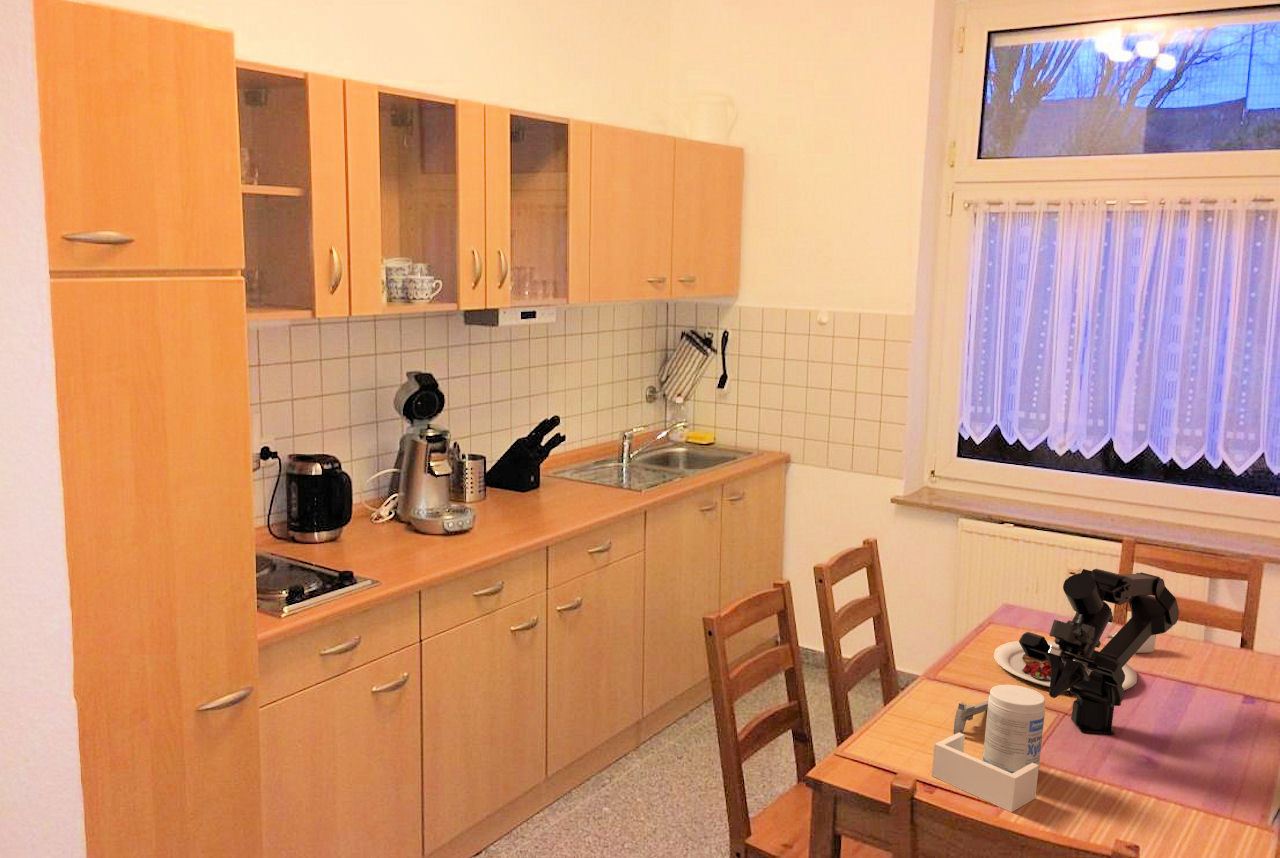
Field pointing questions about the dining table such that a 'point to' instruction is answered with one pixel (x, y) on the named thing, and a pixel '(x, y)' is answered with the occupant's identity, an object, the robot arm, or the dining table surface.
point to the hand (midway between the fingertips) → (1051, 696)
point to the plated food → (1039, 665)
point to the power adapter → (1147, 646)
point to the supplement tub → (1014, 727)
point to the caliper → (967, 714)
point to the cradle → (983, 775)
